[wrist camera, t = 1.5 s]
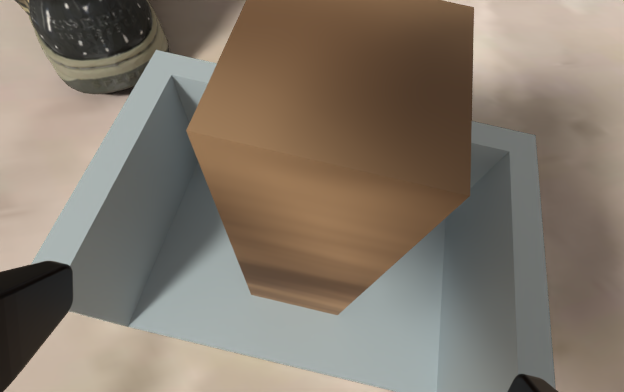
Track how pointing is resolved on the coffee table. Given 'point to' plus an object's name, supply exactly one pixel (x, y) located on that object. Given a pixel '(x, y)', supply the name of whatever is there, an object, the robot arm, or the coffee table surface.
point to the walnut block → (336, 139)
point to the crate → (290, 318)
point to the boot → (97, 40)
